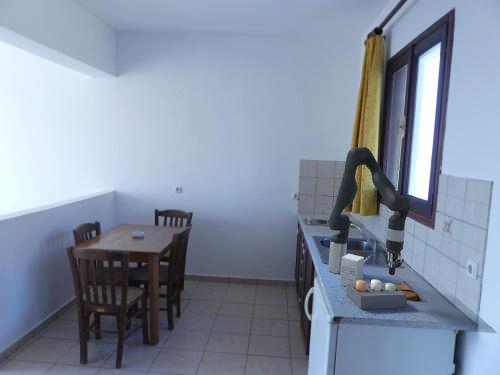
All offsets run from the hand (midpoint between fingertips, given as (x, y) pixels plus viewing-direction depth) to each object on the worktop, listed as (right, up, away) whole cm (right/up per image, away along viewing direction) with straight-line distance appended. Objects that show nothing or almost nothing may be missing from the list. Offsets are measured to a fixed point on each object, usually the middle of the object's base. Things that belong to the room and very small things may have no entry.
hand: (391, 274), depth 162 cm
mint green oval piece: (0, -10, +1) cm, 10 cm away
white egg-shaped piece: (-8, -8, -1) cm, 11 cm away
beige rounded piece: (-15, -8, -2) cm, 17 cm away
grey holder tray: (-8, -12, 0) cm, 15 cm away
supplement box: (-14, -10, +19) cm, 26 cm away
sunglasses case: (+11, -13, +11) cm, 20 cm away
